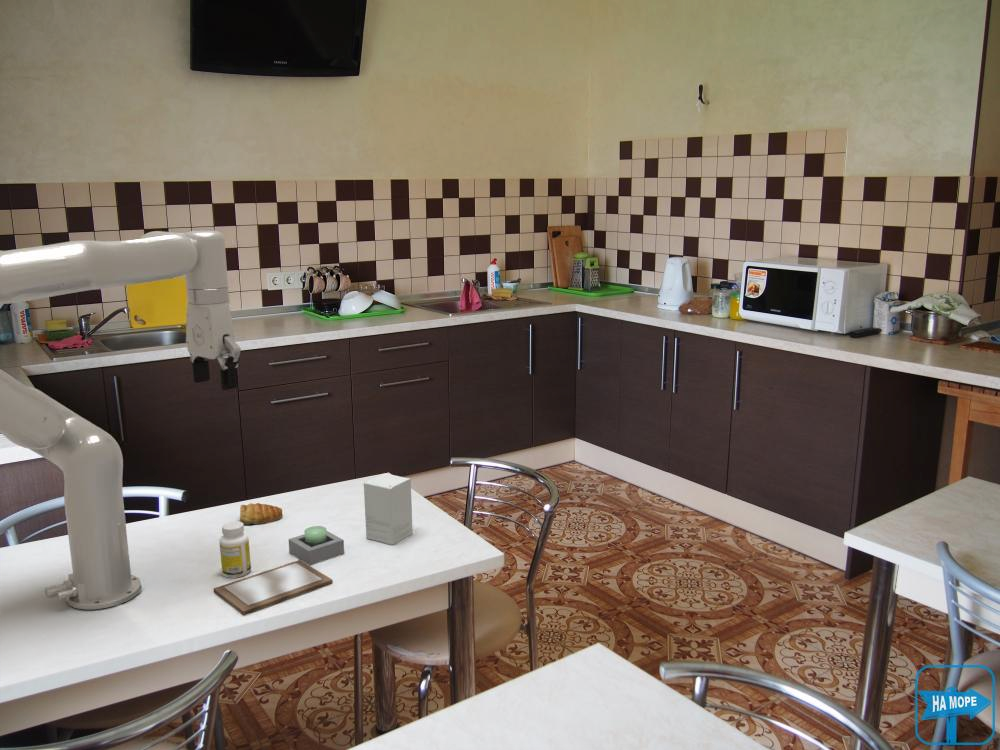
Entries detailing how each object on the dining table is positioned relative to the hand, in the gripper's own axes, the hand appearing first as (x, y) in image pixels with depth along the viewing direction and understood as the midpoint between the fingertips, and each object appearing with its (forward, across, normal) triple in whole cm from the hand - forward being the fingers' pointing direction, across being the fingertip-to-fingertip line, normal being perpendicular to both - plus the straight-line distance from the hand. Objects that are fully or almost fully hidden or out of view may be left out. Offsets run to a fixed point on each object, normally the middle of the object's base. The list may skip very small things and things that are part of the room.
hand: (215, 385), depth 166 cm
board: (+36, +18, -2) cm, 40 cm away
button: (+33, +12, +12) cm, 37 cm away
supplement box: (+36, +17, +28) cm, 49 cm away
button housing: (+36, +12, +12) cm, 40 cm away
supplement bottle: (+36, +7, -3) cm, 37 cm away
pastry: (+36, -13, +15) cm, 41 cm away
